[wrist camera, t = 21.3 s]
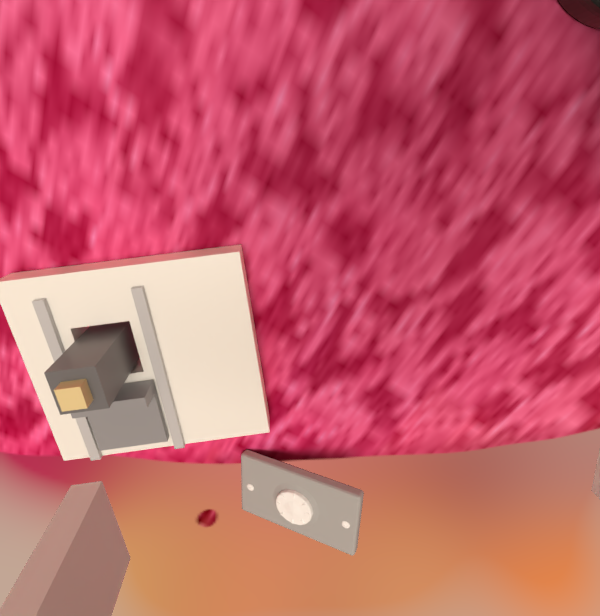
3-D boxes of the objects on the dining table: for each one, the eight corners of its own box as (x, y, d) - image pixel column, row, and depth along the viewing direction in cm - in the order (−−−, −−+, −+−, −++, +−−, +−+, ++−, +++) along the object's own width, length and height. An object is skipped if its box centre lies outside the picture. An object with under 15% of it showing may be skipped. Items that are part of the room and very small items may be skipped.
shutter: (82, 388, 41) (68, 407, 38) (153, 379, 41) (144, 397, 38) (102, 445, 44) (90, 467, 41) (169, 436, 44) (162, 457, 41)
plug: (93, 322, 42) (36, 380, 32) (132, 317, 42) (89, 373, 32) (104, 357, 44) (53, 423, 33) (142, 352, 44) (103, 416, 33)
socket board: (11, 273, 40) (-13, 284, 36) (241, 244, 40) (238, 253, 37) (76, 442, 47) (61, 464, 44) (269, 415, 48) (269, 435, 44)
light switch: (236, 459, 48) (358, 504, 42) (261, 429, 53) (373, 466, 47) (237, 515, 51) (351, 564, 45) (261, 482, 56) (366, 523, 50)
